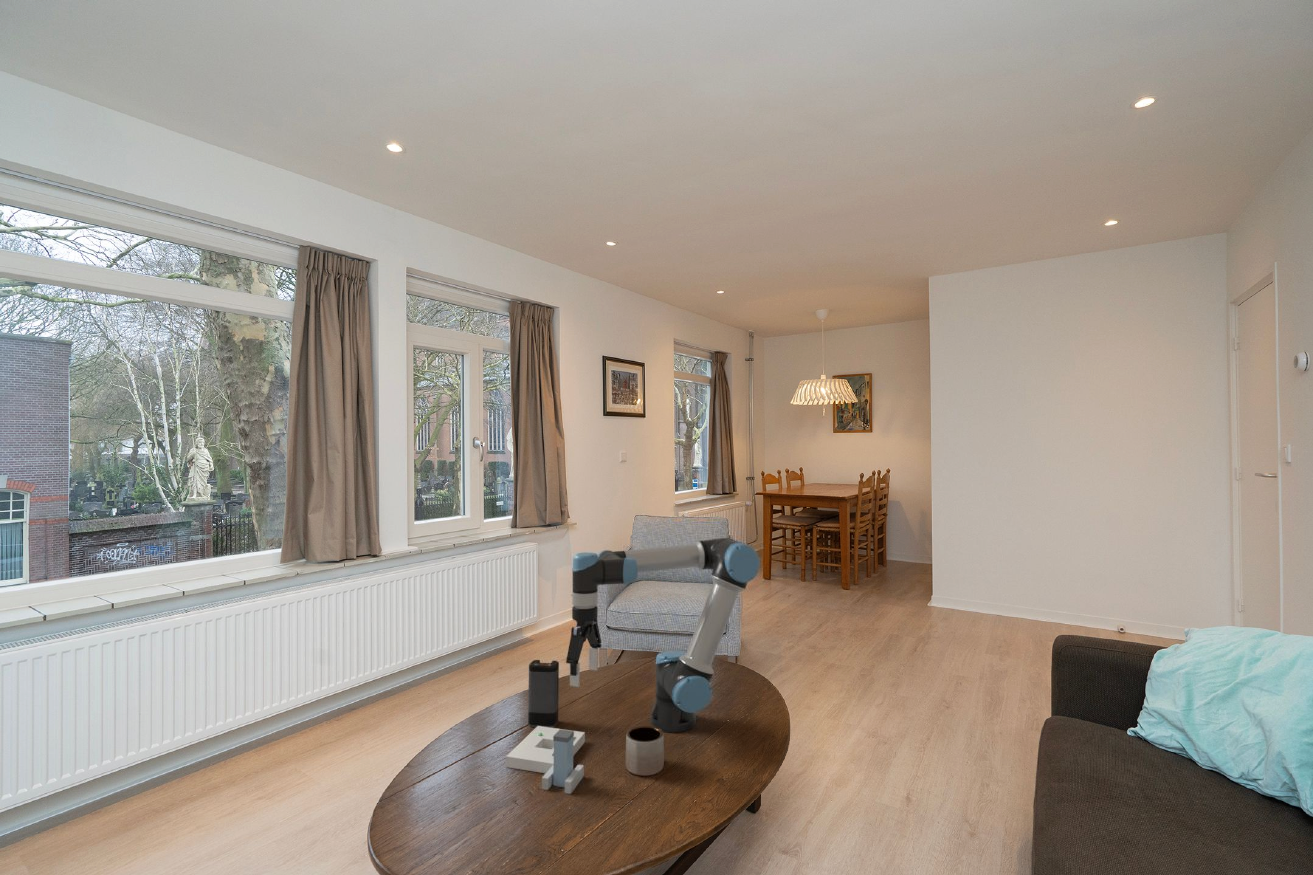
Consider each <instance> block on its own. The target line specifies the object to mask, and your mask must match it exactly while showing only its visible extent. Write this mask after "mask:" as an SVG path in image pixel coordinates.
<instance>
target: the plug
mask: <svg viewBox="0 0 1313 875" xmlns="http://www.w3.org/2000/svg"><path fill="white" fill-rule="evenodd" d="M559 729H560V730H559V731H558V732H557V733H556V734H555V735H554V736H553V741H554V765H553V784H552V786H555V787H561V788H565V781H566V779H567V778H568V777H569V776H570V774H571V773H572V772H573V770H574V756H573V736H574V731H575V730H571V731H569V729H564V730H561V728H559Z"/></svg>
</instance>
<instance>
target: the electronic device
mask: <svg viewBox="0 0 1313 875" xmlns="http://www.w3.org/2000/svg"><path fill="white" fill-rule="evenodd" d="M559 662H560V661H557V660H552V661H551V662H541V660H540V659H534V660H532V661H531V662H530V663H529V664H528V701H527V702H528V707H527V709H528V712H527V713H528V715H527V716H528V718H527V719H528V720H527V726H529V727H531V728H536V727H537V726H542V727H549V728H556V726H557V724H558V723H559V692H560V691H559V690H560V688H559V684H560V683H559V682H560V674H559V673H560V672H559V671H560V668H559V667H560V664H559Z"/></svg>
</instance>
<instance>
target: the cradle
mask: <svg viewBox="0 0 1313 875" xmlns="http://www.w3.org/2000/svg"><path fill="white" fill-rule="evenodd" d="M553 765H554V764H553ZM584 768H585V766H584V765H583V764H577V765H576V767H575V768H573V772H572V773H571V774H570V776H569V777H568V778H567V779H566V781H565V787H564V794H568V795H571V794H572V793H573V792H574V790H575V789H576V788H577V786H578V785H579V783H580V782H581V781H582V780H583V778H584V774H585V769H584ZM552 786H553V766H552V767H551V768H550V769H549V770H548V771H547V772H546V773H544V775H542V777H541V790H545V791H548V790H549V789H550V788H551V787H552Z"/></svg>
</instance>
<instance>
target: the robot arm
mask: <svg viewBox="0 0 1313 875" xmlns="http://www.w3.org/2000/svg"><path fill="white" fill-rule="evenodd" d="M758 554H759V553H757V550H755V549H754V548H753V547H752V546H750V545H749V544H746V543H745V542H742V541H738V540H734V539H732V538H728V537H719V538H712V539H705V540H696V541H695V543H693V544H685V545H675V546H674V545H671V546H663V547H651V548H649V547H648V548H638V549H627V550H618V551H616V550H615V551H613V550H610V549H609V550H607V549H604V550H601V551H599V553H597V552H585V551H584V552H579V553H576V554H574V556H573V558H572V569H571V570H572V593H571V595H570V596H571V598H572V602H571V603H572V605H573V606H572V609H571V618H572V620H573V621H575V622H576V626H575V627H574V626H573V627H571V629H570V630H571V632H570V639H569V646H568V649H567V655H566V660H565V663H566V664H569V687H576V688H578V687H580V686H581V685H580V682H581V681H580V680H581V679H580V678H581V677H580V673H581V671H580V670H581V668H580V666H581V664H580V662H579V661H580V657H581V654H582V650H583V647H584V643H585V642H586V641H587V642H588V644H589V648H588V670H591V671H598V670H599V649H601V648H602V644H601V643H602V639H601V633H600V630H599V629H600V628H599V624H598V610H599V608H598V606H597V605H598V603H599V594H598V593H599V591H598V589H599V588H598V587H599V585H601V586H605V585H622V584H623V585H626V584H632V583H635V582H636V581H637V580H638V574H639V573H647V572H648V573H649V572H658V571H659V572H660V571H668V570H669V571H671V570H680V569H689V568H696V569H698V570H700V571H701V570H711V571H712V572H711V575H710V576H711V579H712V585H711V587H710V590H709V593H708V595H707V598H706V600H705V603H704V607H703V609H702V611H701V613H700V617H699V619H698V621H697V624H696V626H695V629H694V632H693V634H692V637H691V640H690V643H689V645H688V648H687V650H686V651H684V650H667V651H666V650H665V651H662V652H659V653H658V654H657V655H656V658H655V661H656V662H655V700H654V703H653V707H652V710H651V713H650V718H649V719H650V720H649V721H650V722H649V723H650V726H654V727H657V728H659V729H661V730H662V731H663V732H666V733H682V732H683V733H684V732H687V731H689V730H692V728H694V727H695V726H696V723H697V721H696V719H697V716H696V713H697V712H699V711H701V710H703V709H705V708H706V707H707V706H708V704H709V703H710V701H711V699H712V694H713V690H712V686H711V680H712V678H713V675H714V674H715V673H714V669H713V667H712V664H713V662H714V660H715V656H716V653H717V651H718V648H719V646H720V643H721V640H722V637H723V635H724V632H725V630H726V626H727V624H728V622H729V619H730V616H731V613H732V611H733V608H734V607H735V603H736V600H737V599H738V598H737V597H738V595H739V593H741V592H743V591H745V590H746V588H747V585H748V583H749V582H751V581H752V580H754V579H755V578H756V577H757V575H759V574H758V573H759V572H760V566H761V564H760V562H761V561H760V558H759V555H758Z"/></svg>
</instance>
